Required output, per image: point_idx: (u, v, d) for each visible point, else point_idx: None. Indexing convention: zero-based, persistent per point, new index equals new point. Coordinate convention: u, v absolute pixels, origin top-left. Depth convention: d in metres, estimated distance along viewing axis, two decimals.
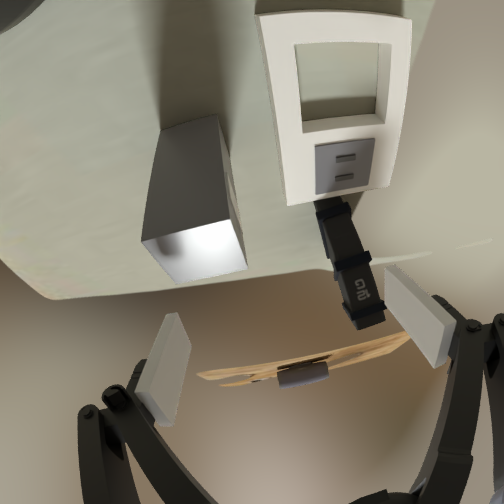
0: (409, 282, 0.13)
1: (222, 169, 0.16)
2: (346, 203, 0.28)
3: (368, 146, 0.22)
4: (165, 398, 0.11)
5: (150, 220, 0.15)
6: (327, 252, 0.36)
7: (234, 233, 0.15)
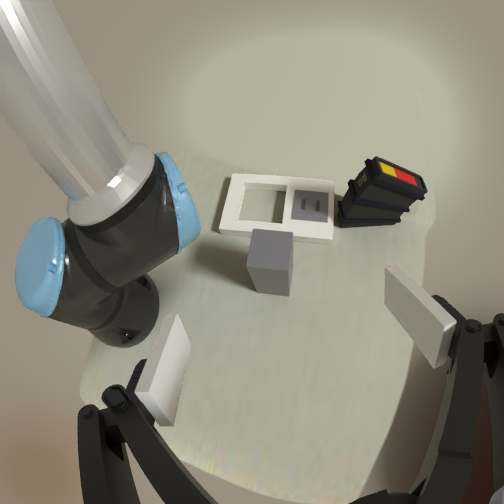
0: (409, 282, 0.13)
1: None
2: (337, 204, 0.44)
3: (299, 192, 0.47)
4: (165, 398, 0.11)
5: None
6: (389, 219, 0.42)
7: (262, 229, 0.34)
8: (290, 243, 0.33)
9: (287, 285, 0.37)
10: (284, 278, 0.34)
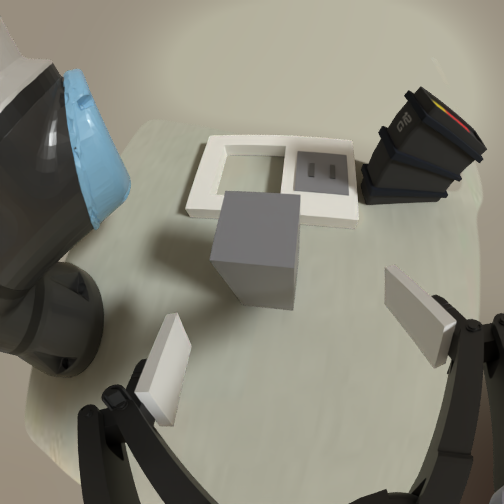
0: (409, 282, 0.13)
1: None
2: (361, 169, 0.28)
3: (303, 155, 0.31)
4: (165, 398, 0.11)
5: None
6: (434, 192, 0.26)
7: (242, 192, 0.18)
8: (296, 214, 0.17)
9: (291, 294, 0.21)
10: (285, 283, 0.18)
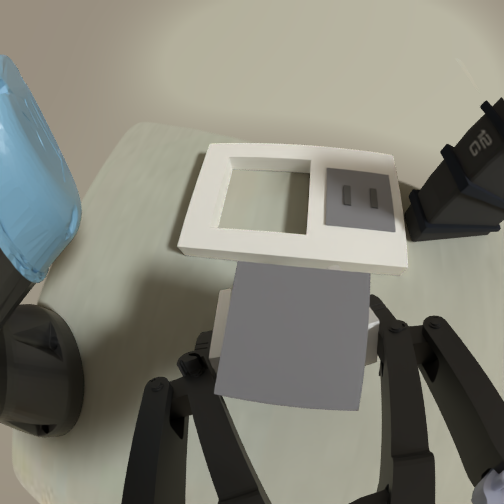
0: None
1: None
2: (409, 196, 0.21)
3: (335, 173, 0.23)
4: None
5: None
6: (488, 226, 0.19)
7: (269, 265, 0.10)
8: (364, 313, 0.09)
9: None
10: None
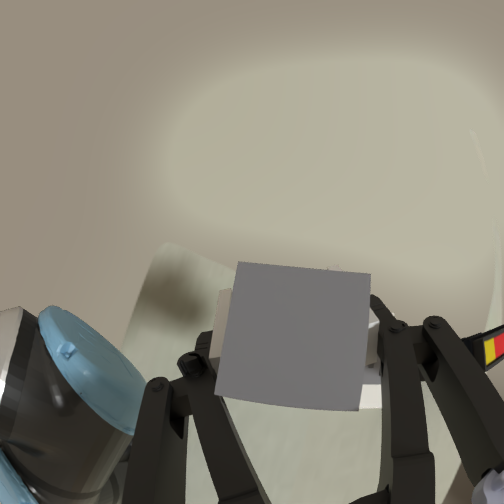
0: None
1: None
2: None
3: None
4: None
5: None
6: None
7: (269, 265, 0.10)
8: (364, 314, 0.09)
9: None
10: None
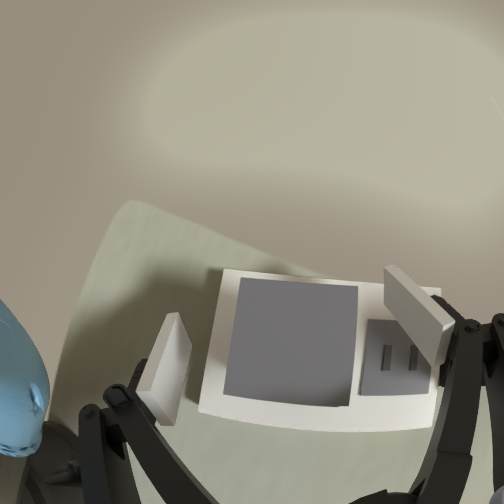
0: (408, 282, 0.13)
1: None
2: None
3: (377, 327, 0.19)
4: (166, 397, 0.11)
5: None
6: None
7: (268, 280, 0.12)
8: (352, 321, 0.10)
9: None
10: None
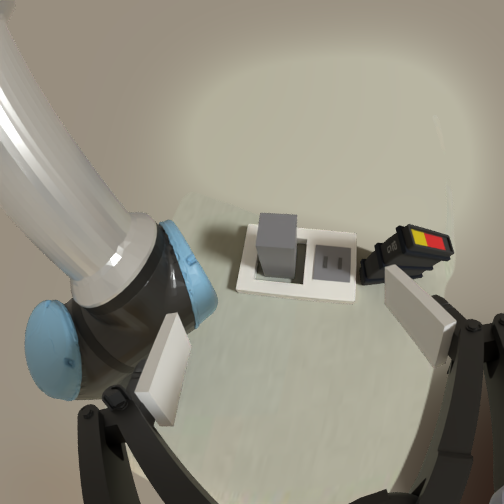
0: (409, 282, 0.13)
1: None
2: (360, 262, 0.42)
3: (320, 248, 0.44)
4: (165, 398, 0.11)
5: None
6: (412, 276, 0.40)
7: (269, 213, 0.37)
8: (295, 224, 0.36)
9: (293, 265, 0.40)
10: (290, 257, 0.37)
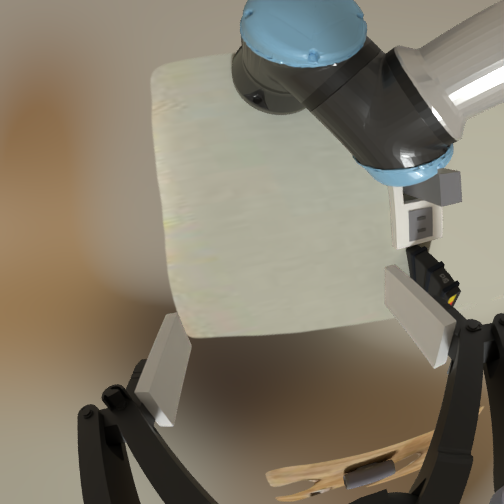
0: (409, 282, 0.13)
1: None
2: (424, 246, 0.46)
3: (430, 211, 0.44)
4: (165, 398, 0.11)
5: None
6: None
7: (460, 178, 0.32)
8: (455, 202, 0.34)
9: (420, 198, 0.40)
10: (430, 199, 0.37)
